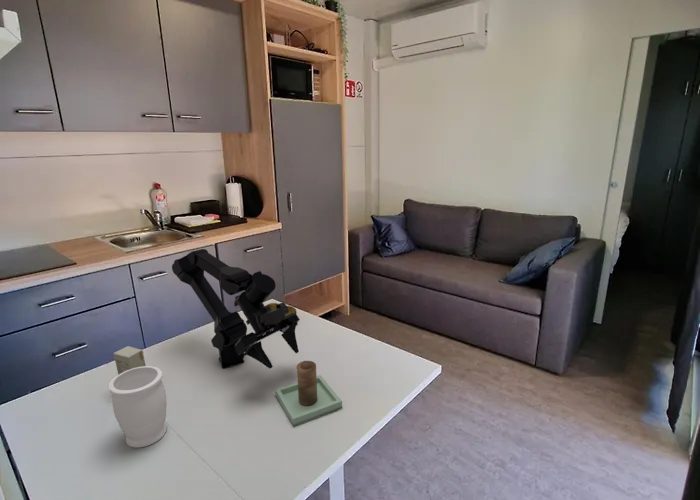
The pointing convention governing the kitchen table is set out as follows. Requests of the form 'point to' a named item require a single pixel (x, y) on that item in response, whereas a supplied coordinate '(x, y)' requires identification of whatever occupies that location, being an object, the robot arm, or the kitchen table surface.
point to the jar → (140, 405)
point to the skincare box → (129, 359)
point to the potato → (291, 309)
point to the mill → (307, 383)
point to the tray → (302, 414)
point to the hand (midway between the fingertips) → (285, 360)
